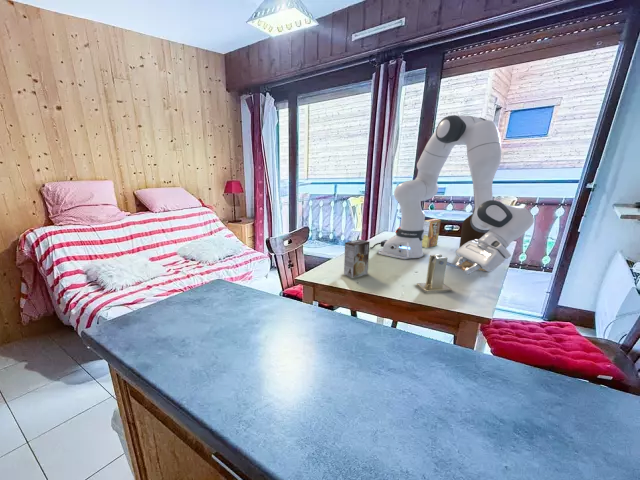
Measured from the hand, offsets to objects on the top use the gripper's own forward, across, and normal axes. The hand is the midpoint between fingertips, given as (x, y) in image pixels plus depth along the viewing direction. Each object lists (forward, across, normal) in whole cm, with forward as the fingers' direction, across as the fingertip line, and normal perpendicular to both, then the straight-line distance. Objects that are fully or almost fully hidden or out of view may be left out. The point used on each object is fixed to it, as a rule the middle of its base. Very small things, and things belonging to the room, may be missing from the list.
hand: (460, 269), depth 130 cm
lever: (+3, 0, -5) cm, 6 cm away
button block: (-10, -24, +20) cm, 33 cm away
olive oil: (-16, -43, +27) cm, 53 cm away
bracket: (+12, 0, -2) cm, 12 cm away
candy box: (-7, -61, +18) cm, 64 cm away
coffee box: (+31, -20, -20) cm, 42 cm away
